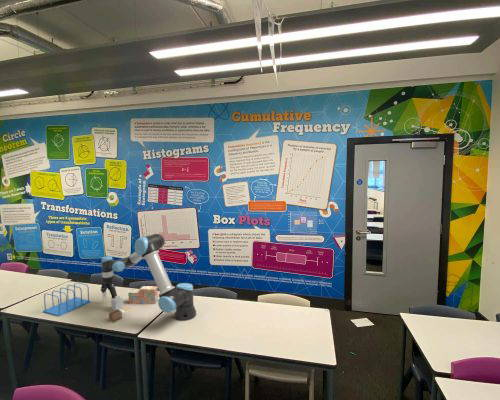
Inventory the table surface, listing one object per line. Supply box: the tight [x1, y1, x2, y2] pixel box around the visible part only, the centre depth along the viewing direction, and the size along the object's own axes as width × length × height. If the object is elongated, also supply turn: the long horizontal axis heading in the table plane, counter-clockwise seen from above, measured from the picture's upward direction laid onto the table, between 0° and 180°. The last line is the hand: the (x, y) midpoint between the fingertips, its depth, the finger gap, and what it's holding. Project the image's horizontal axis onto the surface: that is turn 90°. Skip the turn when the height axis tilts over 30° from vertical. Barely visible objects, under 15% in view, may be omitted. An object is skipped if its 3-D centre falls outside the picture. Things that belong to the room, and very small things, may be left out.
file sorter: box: [42, 281, 91, 317], centre depth 207 cm, size 25×17×15 cm
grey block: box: [110, 296, 124, 311], centre depth 203 cm, size 6×6×8 cm
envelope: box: [108, 303, 135, 313], centre depth 201 cm, size 16×16×1 cm
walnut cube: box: [108, 309, 123, 323], centre depth 188 cm, size 6×6×6 cm
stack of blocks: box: [127, 285, 159, 305], centre depth 216 cm, size 21×6×12 cm, turn 88°
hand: (109, 302), depth 211 cm, fingers open, 13 cm apart
